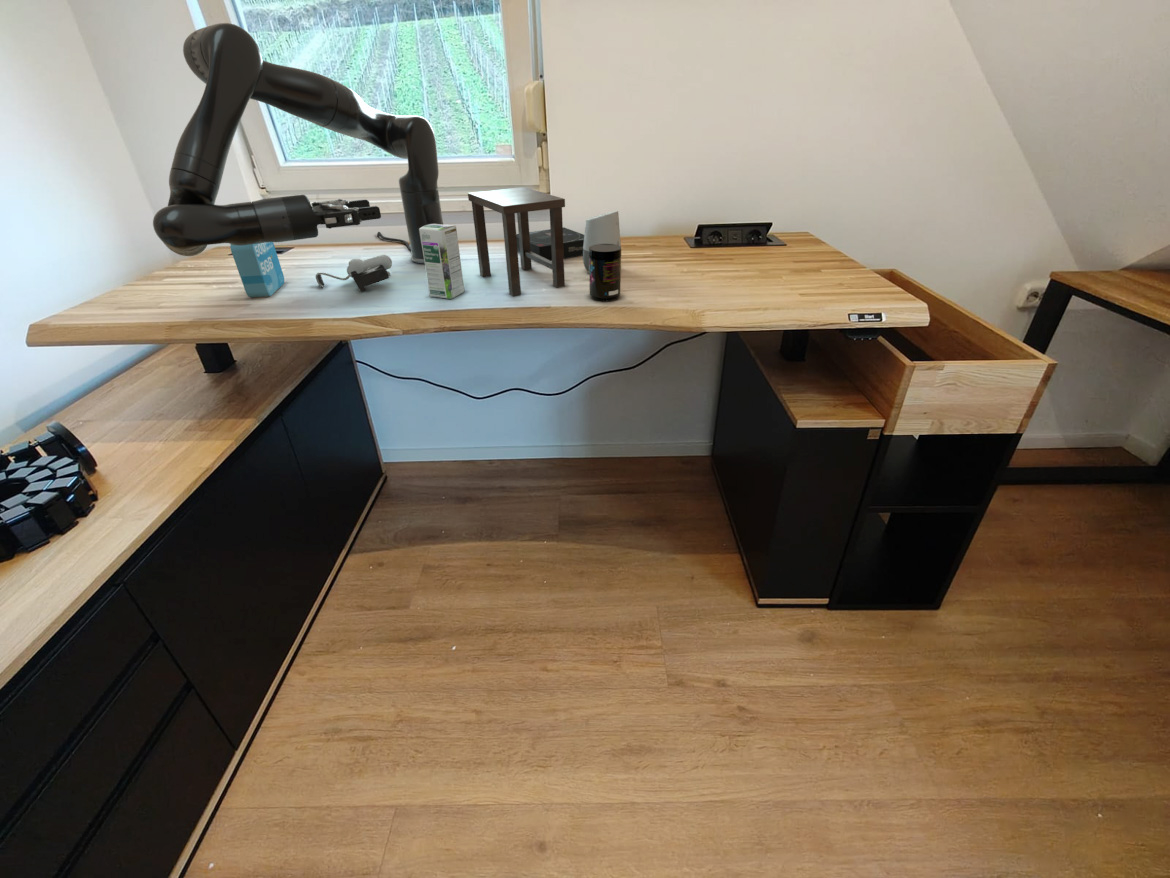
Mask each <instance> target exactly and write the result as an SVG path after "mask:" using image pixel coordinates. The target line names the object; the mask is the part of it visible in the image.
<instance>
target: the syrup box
mask: <svg viewBox="0 0 1170 878" xmlns="http://www.w3.org/2000/svg"><path fill="white" fill-rule="evenodd" d="M419 232H420V239H421V244H422V250H423V256H424V262H425V263H424V268H425V273H426V280H427V287H428V294H429V297H430V298H441V299H448V300H452V299H454V298H456V297H458V296H459V295H461V294H463V293H465V284H464V275H463V269H462V261H461V254H460V246H459V238H458V237H459V236H458V231H457V225H456V224H453V225H452V224H443V225H442V224H429V225H425V226H423V227H421V228H419Z"/></svg>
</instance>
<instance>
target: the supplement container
mask: <svg viewBox="0 0 1170 878" xmlns="http://www.w3.org/2000/svg"><path fill="white" fill-rule="evenodd" d="M588 275H589V276H588V279H589V280H588V281H589V282H588V283H589V297H590V298H591V299H592V300H594V301H598V302H613V301H616V300H618V299H619V298H620V297H621V283H622V281H621V279H622V245H621V246H619V245H615V244H596V245H592V246H590V247H589V272H588Z"/></svg>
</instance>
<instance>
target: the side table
mask: <svg viewBox="0 0 1170 878" xmlns="http://www.w3.org/2000/svg"><path fill="white" fill-rule="evenodd" d="M467 199H468V202H471V208H472V209H471V210H472V215H473V216H472V217H473V226H474V234H475V242H476V251H477V258H478V269H479V275H480V277H482V278H489V277H492V273H491V262H490V254H489V244H488V236H487V226H486V217H485V208H486V209H490V210H492V211H495V212H496V213H499V214H501V217H502V230H503V241H504V251H505V262H506V263H505V265H506V275H507V284H508V294H509V295H510V296H511V297H518V296H522V290H521V289H522V288H521V287H522V286H521V276H520V275H521V274H520V269H521V270H524V271H528V270H529V271H530V270H532V269H533V267H532V265H533V264H532V261H533V262H536V263H537V264H540V265H542V266H544V267H546V268H549V269H550V270H552V272H551V273H552V286H553V287H554V288H557V289H559V288H564V287H565V286H566V283H565V280H566V279H565V259H564V250H563V227H564V226H563V208H565V207H566V199H565V198H563V197H560V196H556V195H552V194H550V193H545V192H542V191H539V190H536V189H533V188H532V189H531V188H528V187H524V186H520V187H511V188H502V189H501V188H500V189H493V190H484V191H483V190H482V191H472V192H467ZM543 210H549V225H550V226H549V228H550V230H551V251H552V261H550V260H548V259H546V258H544V257H542V256H540V255H537V254H535V253H533V252H531V250H530V235H529V232H530V222H529V220H530V219H529V212H536V211H543ZM515 214H516V215H515ZM516 217H517V226H516ZM517 230H518V232H517ZM517 233H518V234H519V245H520V253H519V252H518V249H517V237H516V234H517ZM519 256H520V257H519ZM519 258H520V261H519ZM519 262H520V265H519Z"/></svg>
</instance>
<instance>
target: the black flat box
mask: <svg viewBox="0 0 1170 878" xmlns="http://www.w3.org/2000/svg"><path fill="white" fill-rule="evenodd" d="M529 235H530V250H531V252H533V253H535V254H537V255H540V256H542V257H544V258H546V259H548V260H550V261H552V251H551V230H550V229H543V230H537V231H536V230H535V231H529ZM516 237H517V249H518V254H520V245H519V233H516ZM583 244H584V234H583V233H580V232H578V231H575V230H573V229H570V228H567V227H564V226H563V250H564V260H565V259H570V258H571V259H572V258H576V257H583Z"/></svg>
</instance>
